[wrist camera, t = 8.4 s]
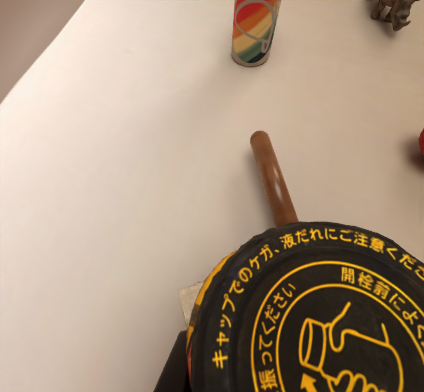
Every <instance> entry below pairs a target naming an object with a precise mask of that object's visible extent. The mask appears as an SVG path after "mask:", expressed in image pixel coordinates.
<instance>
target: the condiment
mask: <svg viewBox="0 0 424 392" xmlns="http://www.w3.org/2000/svg"><path fill="white" fill-rule="evenodd" d="M178 292H179V296H180V300H181V304H182V309H183V313H184V317H185V321H186V325H187V334H186V336H187V345H186V353H187V362H188V372H189V380H190V385H191V389H192V392H424V263H422V262H421V261H419V260H418V259H416V258H415V257H413V256H412V255H411V254H409V253H408V252H406V251H405V250H404V249H403V248H401V247H400V246H399V245H398V244H396V243H395V242H394V241H393V240H391V239H389V238H387V237H385V236H383V235H380V234H378V233H375V232H372V231H369V230H366V229H363V228H359V227H356V226H350V225H343V224H339V223H332V222H294V223H288V224H285V225H283V226H280V227H278V228H271V229H268V230H266V231H265V232H264V233H262V234H259V235H256V236H254V237H253V238H252V239H250V240H249V241H248V242H247V243H245V244H244V245H242V246H241V247H240V248H239V250H236V251H234V252H232V253H231V254H229V255H228V256H226V257H225V258H223V260H222V261H221V262H220V263H219V264H218V265H217V266H216V267H215V268H214V270H213V271H212V273H211V274H210V275H209V276H208V277H207V278H206V279H205V281H204V282H201V283H198V284H195V285H192V286H189V287H187V288H184V289H181V290H178Z"/></svg>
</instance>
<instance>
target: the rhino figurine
mask: <svg viewBox="0 0 424 392" xmlns="http://www.w3.org/2000/svg"><path fill="white" fill-rule="evenodd" d="M415 1H419V0H379V3H380V4H379V7H378V9H377V10H375V11H374V12H373V13H372V14H371V17H373V18H374V19H378V18H379V17H380V13H381V12H382V11H383V9H384V8H385V6H386V5H387V6H389V7H392V8H391V9H390V11H389V13H388V14H387V15H386V17H385V19H386V20H387V21H390V22H392V26H393V30H394V31H398V30H400V29H401V28H402V27H404V26H407V25H408V24H409V23H410V22H411V20H410V21H408V22H406V19H407V17H408V16H409V14H410V9H411V5H412V4H413V3H414V2H415Z"/></svg>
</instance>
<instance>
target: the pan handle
mask: <svg viewBox="0 0 424 392" xmlns="http://www.w3.org/2000/svg"><path fill="white" fill-rule="evenodd" d="M250 144H251V147H252V150H253V154H254V157H255V160H256V163H257V167H258V170H259V173H260V177H261V180H262V183H263V186H264V190H265V193H266V196H267V200H268V203H269V206H270V209H271V213H272V216H273V219H274V223H275V226H276V228H278V227H280V226H283V225H285V224H288V223H294V222H299V221H298V218H297V215H296V212H295V209H294V207H293V204H292V201H291V198H290V195H289V192H288V190H287V187H286V184H285V181H284V178H283V175H282V172H281V170H280V167H279V164H278V161H277V158H276V155H275V153H274V150H273V147H272V144H271V141H270V138H269V136H268V134H267V133H266V132H264V131H256V132H255V133H253V134H252V136H251V138H250Z"/></svg>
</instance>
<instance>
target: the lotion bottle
mask: <svg viewBox="0 0 424 392" xmlns="http://www.w3.org/2000/svg"><path fill="white" fill-rule="evenodd" d="M280 3H281V0H235V5H234V20H233V35H232V57H233V58H234V60H235V61H236V62H237V63H239V64H241V65H244V66H258V65H260V64H262V63H264V62H265V61H266V60H267V58H268V56H269V52H270V48H271V44H272V39H273V35H274V30H275V26H276V21H277V16H278V12H279V7H280Z"/></svg>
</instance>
